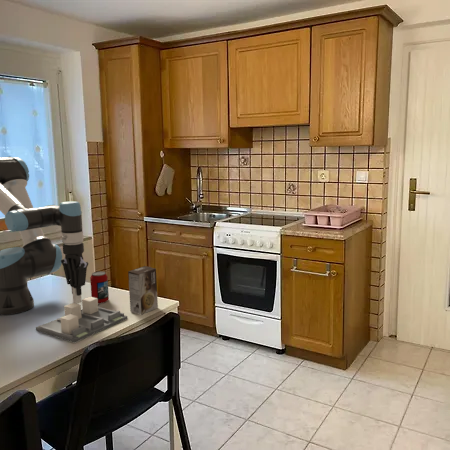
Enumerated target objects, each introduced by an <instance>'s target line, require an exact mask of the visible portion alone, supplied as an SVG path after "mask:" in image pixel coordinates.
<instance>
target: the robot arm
mask: <svg viewBox="0 0 450 450" xmlns="http://www.w3.org/2000/svg"><path fill="white" fill-rule="evenodd" d="M29 179H30V170H29V167H28V164H27V163H26V162H25V161H24V159H22V158H20V157H16V156H5V157H4V156H3V157H1V156H0V212H1V213H2V214H3V215H4V224H5V226H6V228H7V229H8V231H10V232H19V235H20V238H21V241H22V243H23V244H22V246H14V247H7V248H4V249H1V250H0V315H1V316H3V315H4V316H5V315H6V316H7V315H15V314H21V313H23V312H26V311H29V310H31V309H32V308H34V306H35V302H34V301H35V300H34V297H33V295H32V293H31V291H30V289H29V286H28V279H32V278H36V277H40V276H45V275H50V274H51V273H52V274H53V273H55V272H57V271H59V270H60V269H61V266H62V267H63V271H64V275H65V279H66V283H67V285H69V286H70V288H71V294H72V303H76V304H81V303H82V300H83V299H82V294H83V293H82V287H83V286H85V285H86V280H87V279H86V277H87V271H88V269H87V268H88V266H89V262H88V261H85V260H84V255H83V253H84V252H85V247H84V246H85V244H84V231H83V215H82V213H83V212H82V207H81V203H80V202H79V201H72V200H71V201H62V202H60V203H59V205H55V204H47V205H44V206H41V207H34V206H33V203H32V201H31V198H30V196H29V193H28V191H27V188H26V187H27V186H28V182H29ZM54 226H59V227H60V229H61V230H60V231H61V240H62V243H63V244H62V248H61V247H60V246H59V245H58V244H56V243H52V240H51V239H50V237H48V236H45V233H44V231H43V228H47V227H54ZM63 254H64V255H65V256H64V258H63Z"/></svg>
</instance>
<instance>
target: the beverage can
mask: <svg viewBox="0 0 450 450" xmlns="http://www.w3.org/2000/svg"><path fill="white" fill-rule="evenodd" d="M89 279H90V281H89V282H90V294H91V296H90V297H94V298H98V305H100V304H105V303H106V302H107V301H109V298H110V296H109V282H108V281H109V280H108V279H109V278H108V274H107V273H106V271H101V270H100V271H94V272H92V273H91V275H90V277H89Z"/></svg>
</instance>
